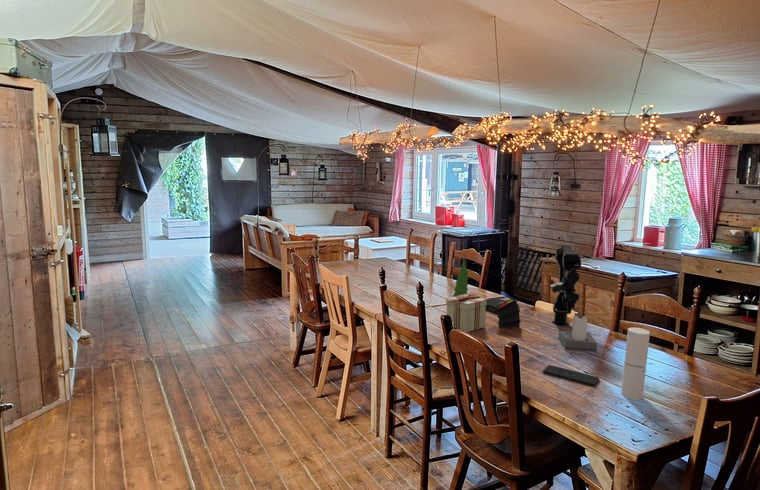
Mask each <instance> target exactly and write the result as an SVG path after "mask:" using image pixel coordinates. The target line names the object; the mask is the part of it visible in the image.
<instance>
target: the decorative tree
mask: <svg viewBox="0 0 760 490" xmlns="http://www.w3.org/2000/svg"><path fill="white" fill-rule="evenodd" d="M468 281H469V272H468V269H467V264H466V259H464V260H463V262H462V265H461V268H460V270H459V272H458V275H457V279H456V281H455V283H454V284H455V287H454V289H453V291H454V293H453V295H452V297H455V296H458V295H464V294H466V295H469V294H468V290H469V288H468V286H469V284H468Z"/></svg>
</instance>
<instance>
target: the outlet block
mask: <svg viewBox="0 0 760 490" xmlns="http://www.w3.org/2000/svg"><path fill="white" fill-rule="evenodd" d="M558 340H559V342H560V344H561V345H562V347H563V348H564V349H563V350H570V351H571V350H572V351H588V352H597V349H598V342H597V341H596V339H595V338H594V337H593V336H592V335H591V334H590V332H586V341H576V340H572V331H564V330H559V331H558Z"/></svg>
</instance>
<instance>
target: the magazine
mask: <svg viewBox="0 0 760 490" xmlns="http://www.w3.org/2000/svg"><path fill="white" fill-rule="evenodd" d="M517 304H518V301H517V300H516V298H514V297H512V298H509V299H508V300H506V302H504V303H502V304H500V305H498V306H497V307H495V308H496V309H495V311H497V313H498V314H497V318H498V321H497V324H498V327H499V328H501V329H507V328H520V327H521V325H520V323H521V322H522V320H521V319H520V317H521V315H520V312H521V310H520V308H519V309H518V305H517Z"/></svg>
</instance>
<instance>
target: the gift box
mask: <svg viewBox="0 0 760 490" xmlns="http://www.w3.org/2000/svg"><path fill="white" fill-rule="evenodd" d="M444 300H445V302H446V303H445V305H446V315H447V314H449V315H450V316H451V318H452V322H453V326H454V328H453V329H455V328H456V329H455V330H458V329H460V330H459V331H461V330H463V331H462V332H464V331H466V332H465V333H470V331H471V332H474V331H477V330H480V328H481V329H483V328H486V314H487V313H486V312H487V310H486V306H487V300H488V299H487V298H486V299H485V298H482V297H481V296H480V295H478V294H477V293H476V292H471V293H469V294H468V295H466V294H464V295H458V296H455V297H453V296H452V297H448V298H446V299H444ZM476 329H477V330H476ZM473 330H474V331H473Z"/></svg>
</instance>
